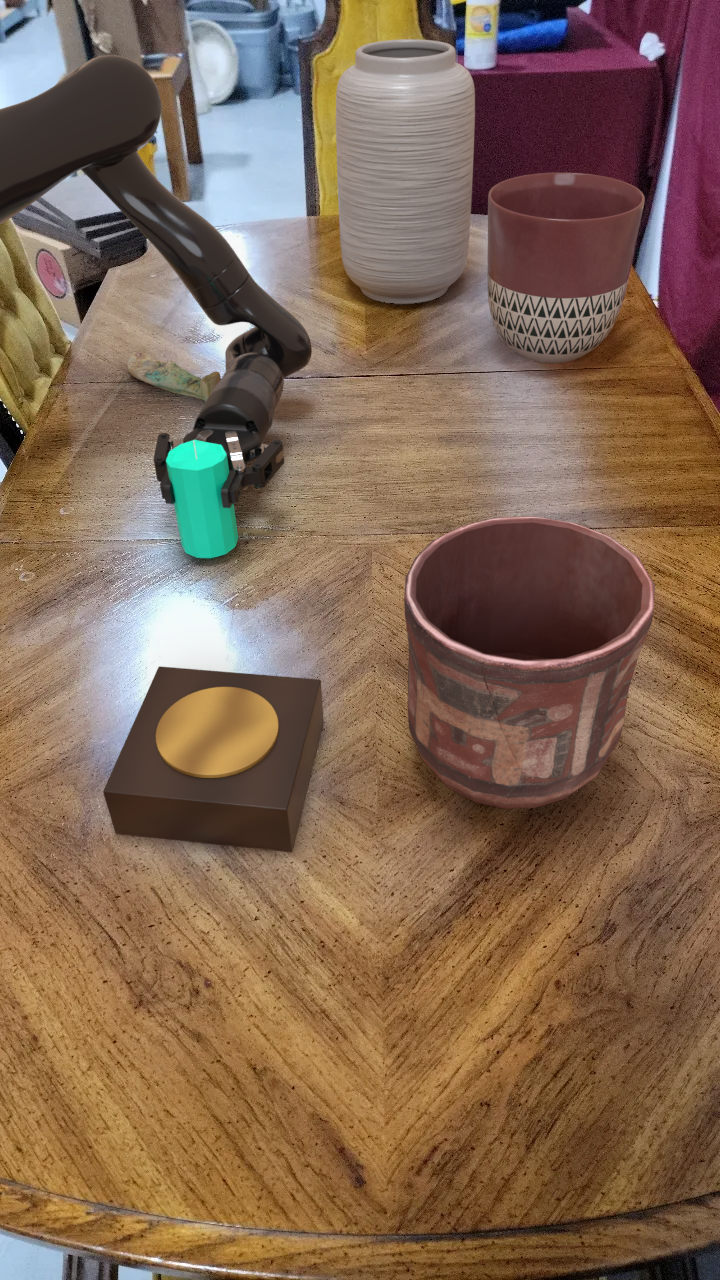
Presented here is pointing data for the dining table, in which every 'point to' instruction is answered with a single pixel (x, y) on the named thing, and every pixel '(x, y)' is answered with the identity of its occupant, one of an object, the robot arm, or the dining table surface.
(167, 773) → the stand
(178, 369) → the figurine
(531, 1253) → the dining table surface
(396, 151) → the vase
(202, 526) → the candle
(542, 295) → the planter
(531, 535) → the pottery
